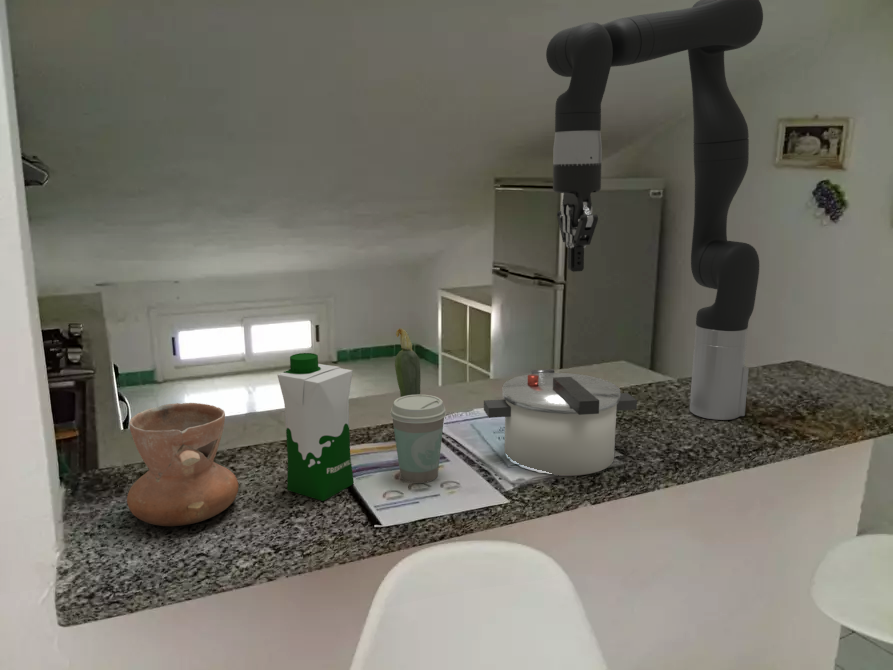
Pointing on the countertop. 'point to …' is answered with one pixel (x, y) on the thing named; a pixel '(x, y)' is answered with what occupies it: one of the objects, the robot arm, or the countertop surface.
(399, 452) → the coffee cup
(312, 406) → the milk carton
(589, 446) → the cooker pot
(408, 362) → the vegetable
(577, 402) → the cooker lid
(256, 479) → the countertop surface
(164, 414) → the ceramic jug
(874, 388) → the countertop surface
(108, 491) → the countertop surface
